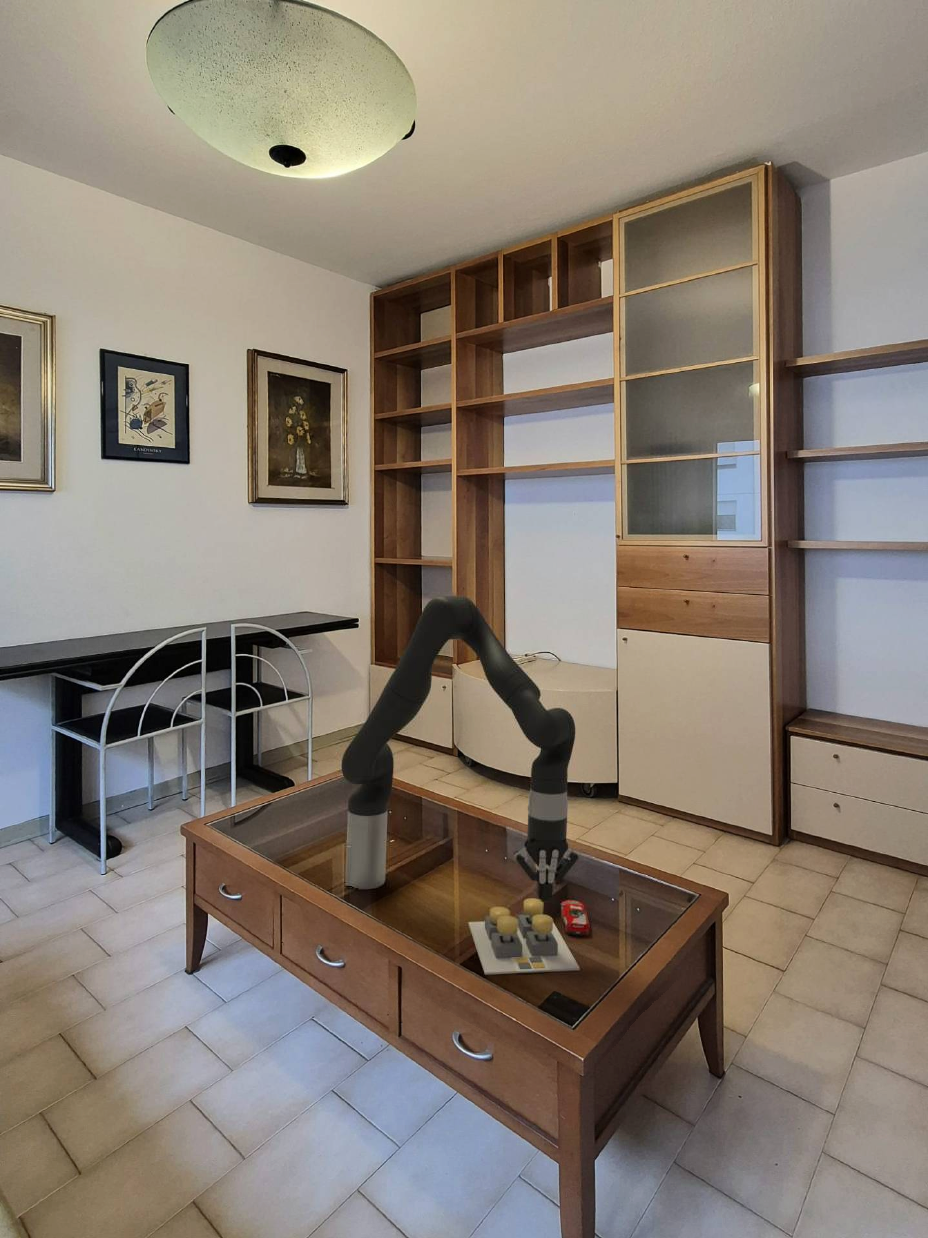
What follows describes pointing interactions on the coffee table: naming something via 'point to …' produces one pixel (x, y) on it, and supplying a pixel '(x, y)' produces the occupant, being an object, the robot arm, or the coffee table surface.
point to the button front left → (507, 927)
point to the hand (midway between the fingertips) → (544, 900)
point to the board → (520, 949)
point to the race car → (574, 917)
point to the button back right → (533, 908)
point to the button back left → (498, 913)
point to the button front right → (542, 925)
